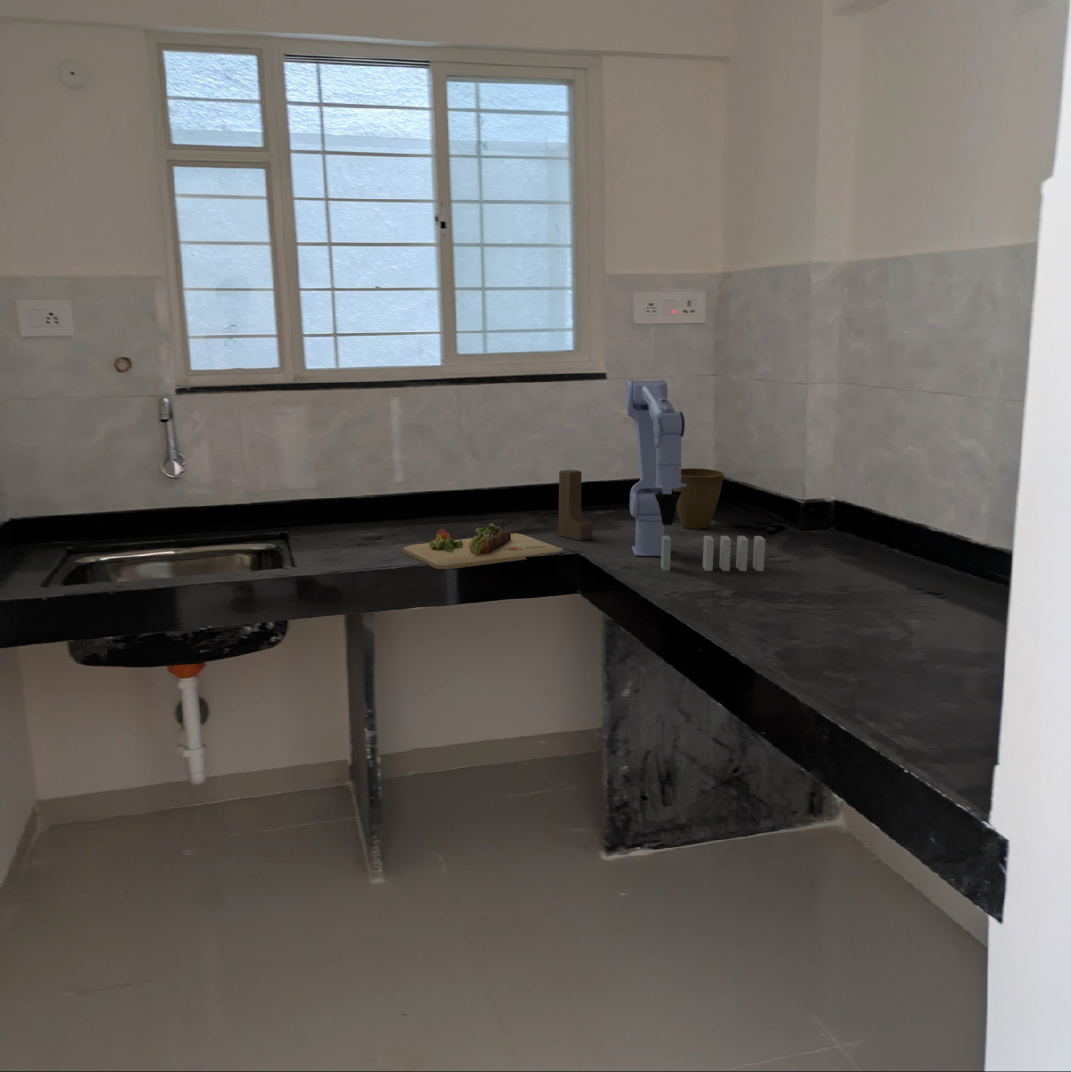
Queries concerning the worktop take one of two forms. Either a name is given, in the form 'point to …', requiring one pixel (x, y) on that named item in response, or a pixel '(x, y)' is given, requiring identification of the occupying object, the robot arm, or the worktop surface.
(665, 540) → the domino
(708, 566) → the domino
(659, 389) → the robot arm
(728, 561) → the domino
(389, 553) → the worktop surface
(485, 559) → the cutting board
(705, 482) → the plant pot
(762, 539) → the domino
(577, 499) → the wooden block
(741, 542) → the domino
